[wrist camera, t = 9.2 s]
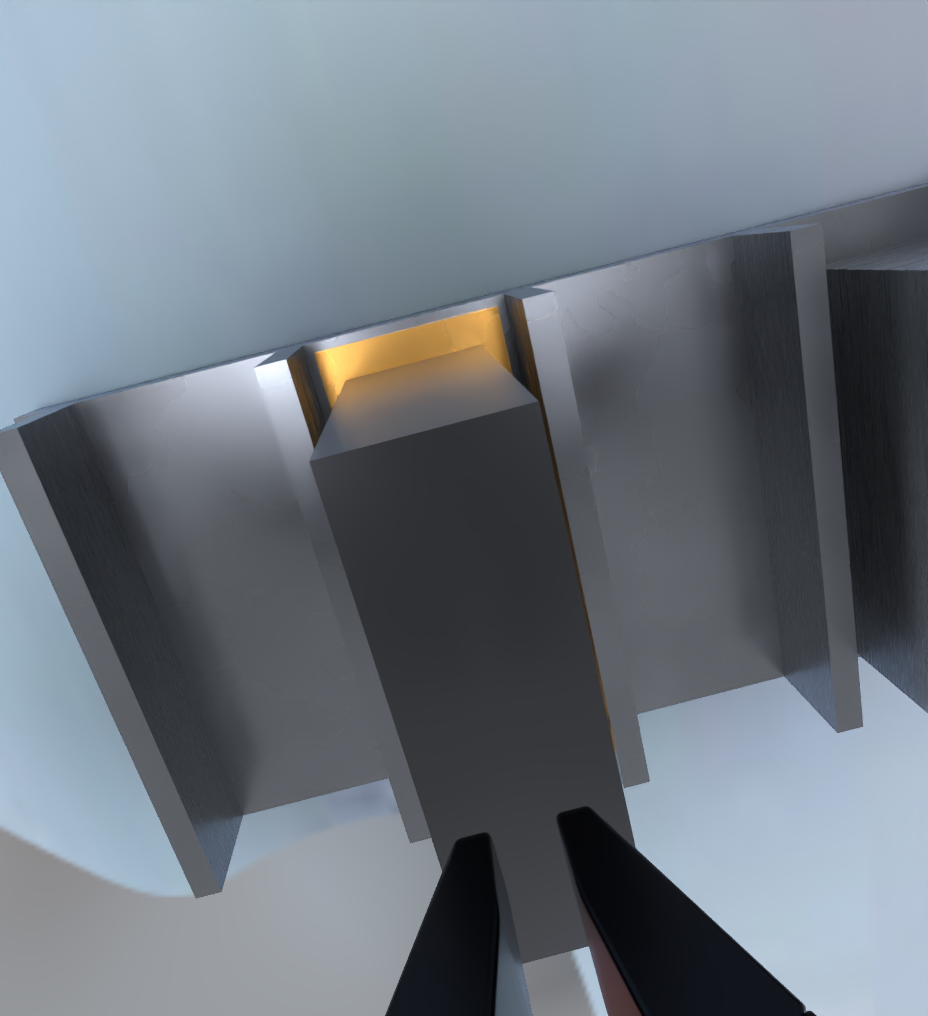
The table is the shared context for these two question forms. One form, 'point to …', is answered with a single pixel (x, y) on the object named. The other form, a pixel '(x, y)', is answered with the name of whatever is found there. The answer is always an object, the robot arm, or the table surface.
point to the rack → (583, 495)
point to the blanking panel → (474, 618)
